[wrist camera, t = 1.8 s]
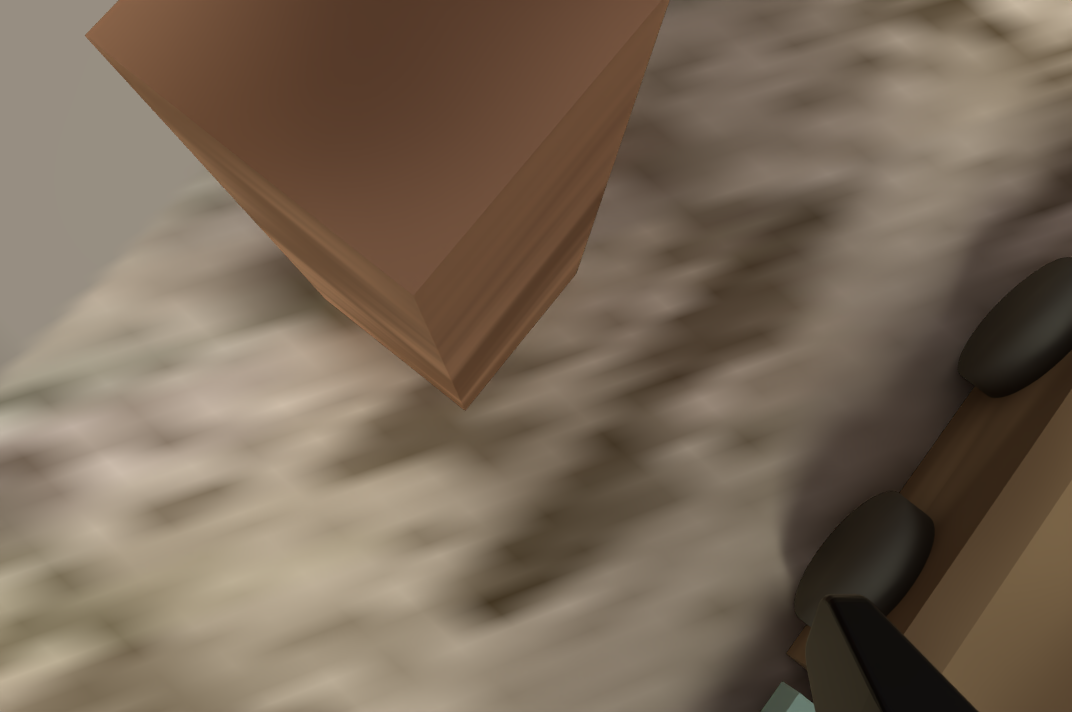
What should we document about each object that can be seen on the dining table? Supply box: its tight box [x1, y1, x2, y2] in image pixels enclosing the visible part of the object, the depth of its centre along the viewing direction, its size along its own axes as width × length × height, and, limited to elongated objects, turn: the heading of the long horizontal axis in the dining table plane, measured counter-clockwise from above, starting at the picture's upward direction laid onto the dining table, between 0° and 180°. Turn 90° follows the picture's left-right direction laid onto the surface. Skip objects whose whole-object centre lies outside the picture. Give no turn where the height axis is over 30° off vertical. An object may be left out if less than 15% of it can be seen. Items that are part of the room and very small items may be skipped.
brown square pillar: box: [85, 0, 669, 410], centre depth 16 cm, size 4×4×13 cm
